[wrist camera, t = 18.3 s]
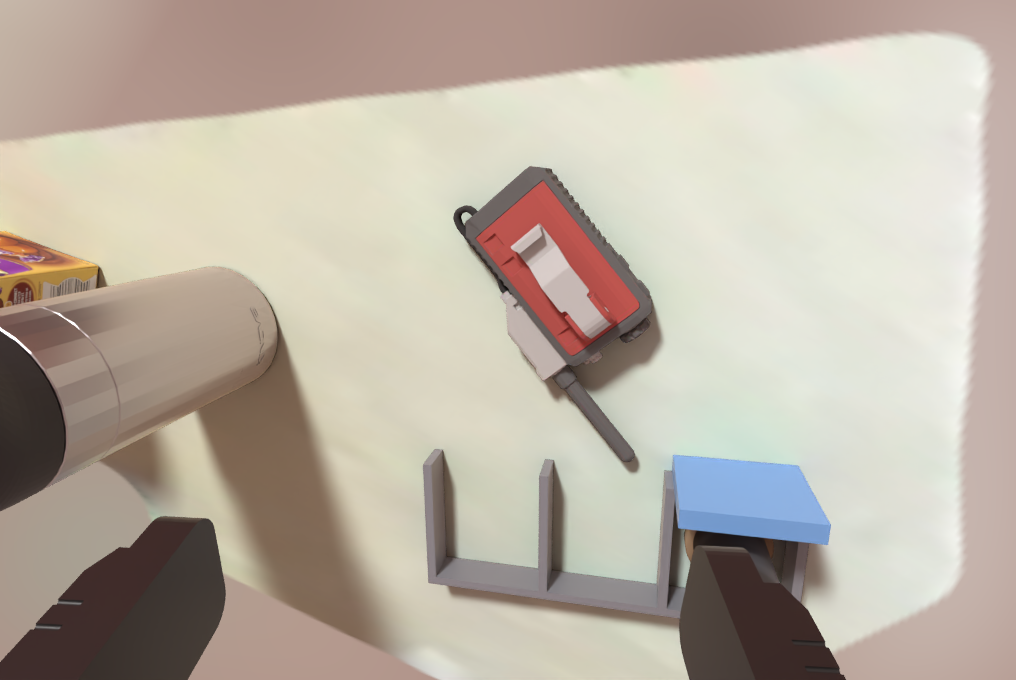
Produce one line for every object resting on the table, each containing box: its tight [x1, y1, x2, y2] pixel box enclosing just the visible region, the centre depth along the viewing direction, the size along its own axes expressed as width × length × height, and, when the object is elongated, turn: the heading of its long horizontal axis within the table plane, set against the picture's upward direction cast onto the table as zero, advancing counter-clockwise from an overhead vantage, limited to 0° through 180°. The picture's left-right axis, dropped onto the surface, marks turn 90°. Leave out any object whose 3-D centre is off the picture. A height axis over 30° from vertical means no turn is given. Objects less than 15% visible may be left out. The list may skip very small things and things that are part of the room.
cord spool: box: [684, 529, 779, 583], centre depth 34 cm, size 6×6×14 cm
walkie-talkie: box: [454, 166, 652, 462], centre depth 37 cm, size 9×4×20 cm
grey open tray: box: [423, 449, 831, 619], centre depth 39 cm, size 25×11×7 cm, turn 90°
